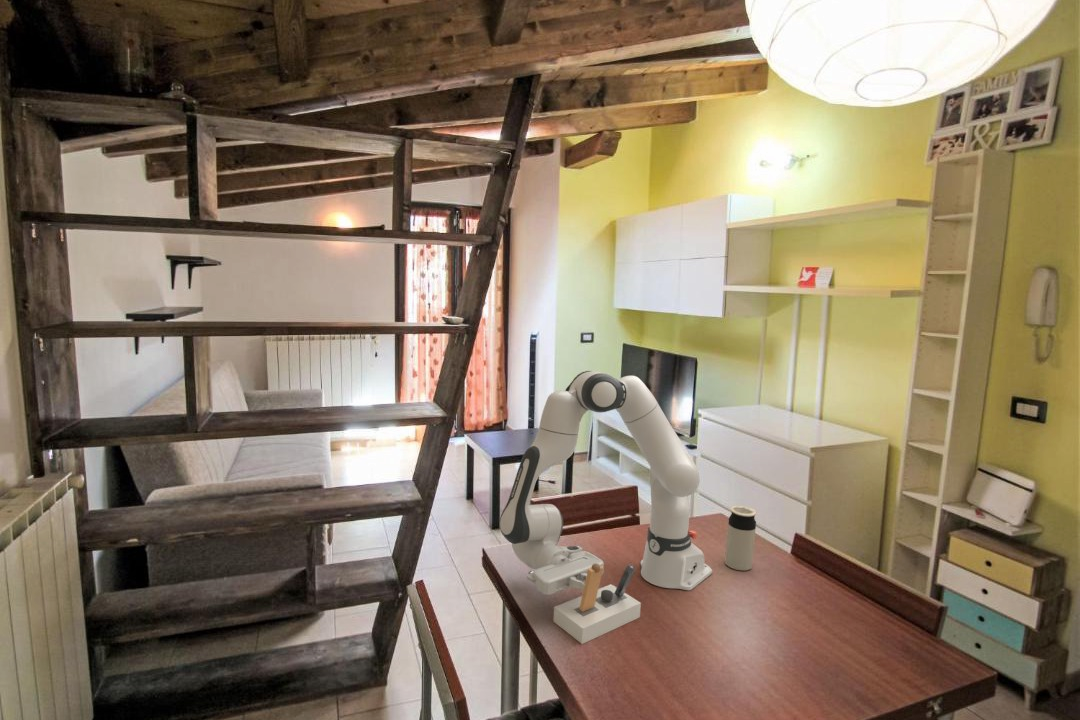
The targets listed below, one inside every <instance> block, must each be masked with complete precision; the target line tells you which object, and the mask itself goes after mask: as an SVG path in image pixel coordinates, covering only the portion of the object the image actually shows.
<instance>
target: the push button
mask: <svg viewBox="0 0 1080 720" xmlns="http://www.w3.org/2000/svg"><path fill="white" fill-rule="evenodd" d="M601 599H602V600H604V601H611V600H612V599H613V593H612V592H611V591H609V590H603V591H602V592H601Z"/></svg>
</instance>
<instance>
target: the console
mask: <svg viewBox="0 0 1080 720" xmlns="http://www.w3.org/2000/svg"><path fill="white" fill-rule="evenodd" d="M616 589H617V586H615V585H613V584H611V583H610V584H608V585H605V586H603V587H599V589H598V593H597V597H596V601H595V606H594V607H593V608H590V609H588V610H586V611H583V612H582V611H581V610H580V609H579V608H580V603H581V599H582V595H580V596H578V597H575V598H572V599H569V600H568V601H565V602H562V603H560V604H557V605H555V606H553V622H554V623H555V624H556V625H557V626H559V627H560V628H561V629H563V630H564V631H565V632H566V633H567V634H569V635H570V636H571V637H573V639H575V640H577V642H578V643H580V644H581V645H583V644H585V643H588V642H590V641H592V640H593V639H596V638H598V637H601V636H602V635H605V634H606V633H609V632H611V631H613V630H615V629H618V628H620V627H622V626H625V625H626V624H628V623H630V622H633V621H635V620H637V619H639V618H641V607H642V606H641V605H642V602H640V601H638V600H637V599H636V598H634V597H633V596H631V595H629V594H628V593H626V592H624V594H623V596H622V597H619V598H618V597H617V596H616V594H615V591H616ZM603 590H609V591H611V592H612V593H613V599H612V600H611V601H604V600H602V599H601V592H602V591H603Z"/></svg>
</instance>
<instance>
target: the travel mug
mask: <svg viewBox="0 0 1080 720" xmlns="http://www.w3.org/2000/svg"><path fill="white" fill-rule="evenodd" d="M730 511H731V514H730V516H729V517H728V525H727V535H726V545H725V546H726V547H725V559H724V563H725V565H726V566H728V567H729V568H731V569H733V570H736V571H741V572H742V571H749V570H751V569H752V567H753V557H754V550H755V549H754V547H755V540H756V539H755V538H756V537H755V536H756V528H757V521H756V518H755V517H756V514H757V512H756V510H755V509H754V508H751V507H749V506H744V505H734V506H731V507H730Z"/></svg>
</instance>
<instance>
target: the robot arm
mask: <svg viewBox="0 0 1080 720" xmlns="http://www.w3.org/2000/svg"><path fill="white" fill-rule="evenodd" d="M613 410H616V411H617V413H619V416H620V418H621V420H622V421H623V423H624V425H625V426H626V428H627V430H628V432H629V433H630V435H631V436H632V438H633V440H634V441H635V444H637V447H638V448H639V450H640V452H641V453H642V455H643V457H644V458H645V460H646V461H647V463H648V465H649V466H650V468H649V471H650V475H649V477H650V484H649V485H650V503H651V504H650V518H649V520H650V521H649V526H648V529H647V533H646V534H647V536H646V537H647V538H646V539H647V540H646V541H645V545H644V546H645V547H644V553H643V557H642V559H641V560H640V567H641V569H640V575H641V577H642V578H643V579H644V580H645V581H646V582H648V583H650V584H652V585H654V586H656V587H660V588H664V589H665V588H666V589H677V590H678V589H680V590H685V591H691V590H693V589H694V588H696V587H697V586H698V585H699V584H701V583H702V582H703V581H704V580H706V579H707V578H708V577H709V576H710V575H712V574H713V569H712V568H711V567H710V566H709V565H708V564H706V563H705V555H704V552H703V551H702V550H701V549H700V548H699V547H697V546H696V545H695V544H694V543H693V542H692V541H691V540H692V539H693V540H695V539H697V537H698V533H697V531H693V530H692V529H691V530H689V526H690V525H689V522H690V512H691V511H690V510H691V509H690V501H689V496H690V495H692V494H693V493H695V492H696V491H697V490H698V488H699V485H700V474H699V469H698V467H697V465H696V464H695V462H694V459H692V456H691V455H690V454H689V451H687V449H686V447H685V445H684V444H683V442H682V441H681V439H680V437H679V436H678V434H677V433H676V431H675V429H674V428H673V427H672V424H670V423H671V422H670V421H669V420H668V418H667V416H666V415H665V413H664V411H663V410H662V408H661V406H660V404H659V402H658V401H657V399H656V397H655V396H654V394H653V393H652V392H651V390H650V389H649V388H648V387H647V385H646V384H645V383H644V382H643V381H642V379H640V378H639V377H638V376H636V375H625V376H622V377H620V378H619V379H617V378H615V377H613V376H612V375H610V374H608V373H607V374H606V373H603V372H601V371H598V370H585V371H581V372H580V373H578V374H577V375H575V377H574V378H573V379H572V381H571V382H570V384H569V385H568V386H567V387H566V388H565V390H556V391H554V392H551V393H550V394H549V395H548V396H547V399H546V401H545V404H544V406H543V410H542V414H541V418H540V421H539V427H538V432H537V434H536V437H535V439H534V441H533V442H532V444H531V445H530V447H528V448H527V449H526V450H525V452H524V453H523V455H522V458H521V460H520V464H519V466H518V469H517V472H516V475H515V477H514V478H515V479H514V482H513V484H512V487H511V491H510V493H509V497H508V500H507V503H506V505H505V507H504V509H503V510H502V512H501V515H500V518H499V530H500V532H501V535H502V536H503V538H504V539H506V540H507V541H508V542H509V543H510V544H511V548H512V551H513V553H514V554H515V556H516V557H517V558H518V559H519V561H521V562H522V563H523V564H524V565H526V566H527V567H528V568H530V569H532V570H530V571H528V573H527V575H526V578H527V580H528V581H530V582H531V583H532V584H533V586H534V588H536V589H537V590H538V592H539V593H541V594H542V595H546V596H549V595H552V594H555V593H558V592H561V591H563V590H566V589H568V588H573V589H578V590H579V589H580V590H581V591H583V590H584V586H585V581H586V577H587V572H588V569H589V568H591V567H592V565H593V564H595V563H597V564H599V565H601V566H602V567H603V572H602V576H603V575H604V573H605V572H604V570H605V562H604V561H603V560H602V559H601V558H599V557H598V556H597V555H594V554H593V553H591V552H588V551H585V550H583V547H582V546H579V545H571V546H569V545H568V546H563V545H558V543H559V541H560V538H561V535H562V532H563V529H564V518H563V515H562V513H561V511H560V509H559V508H558V507H557V506H556V505H555V504H552V503H540V504H539V503H537V504H530V502H531V499H532V495H533V493H534V489H535V486H536V482H537V480H538V478H539V477H540V476H541V475H542V473H544V472H545V471H547V470H549V469H550V468H553V467H554V466H557V465H559V464H561V463H564V462H565V461H566V460H567V461H568V459H569V458H570V457H572V455H573V453H574V451H575V449H576V446H577V442H578V435H579V431H580V423H581V421H582V419H583V417H584V415H585V414H586V413H587V412H588V411H592V412H595V413H599V414H600V413H606V412H610V411H613ZM691 538H692V539H691Z"/></svg>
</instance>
